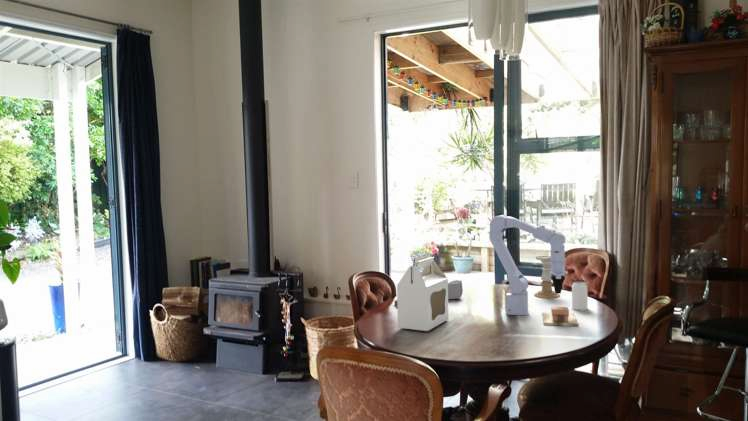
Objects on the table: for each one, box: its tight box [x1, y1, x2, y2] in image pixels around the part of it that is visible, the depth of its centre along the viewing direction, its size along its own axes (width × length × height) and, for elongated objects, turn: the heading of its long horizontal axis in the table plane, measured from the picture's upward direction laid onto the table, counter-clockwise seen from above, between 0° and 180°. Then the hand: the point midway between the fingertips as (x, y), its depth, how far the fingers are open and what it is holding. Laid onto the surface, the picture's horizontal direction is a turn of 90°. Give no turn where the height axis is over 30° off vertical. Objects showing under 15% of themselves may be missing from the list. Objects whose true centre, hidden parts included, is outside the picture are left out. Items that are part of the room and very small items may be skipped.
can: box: [571, 281, 589, 311], centre depth 249 cm, size 6×6×12 cm
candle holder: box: [533, 255, 561, 299], centre depth 277 cm, size 12×12×20 cm
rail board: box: [541, 312, 579, 327], centre depth 229 cm, size 13×18×4 cm
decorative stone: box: [448, 279, 464, 300], centre depth 278 cm, size 15×7×10 cm
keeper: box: [550, 306, 570, 322], centre depth 225 cm, size 6×5×5 cm
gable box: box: [396, 253, 450, 332], centre depth 230 cm, size 22×13×28 cm, turn 151°
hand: (557, 293), depth 236 cm, fingers closed
